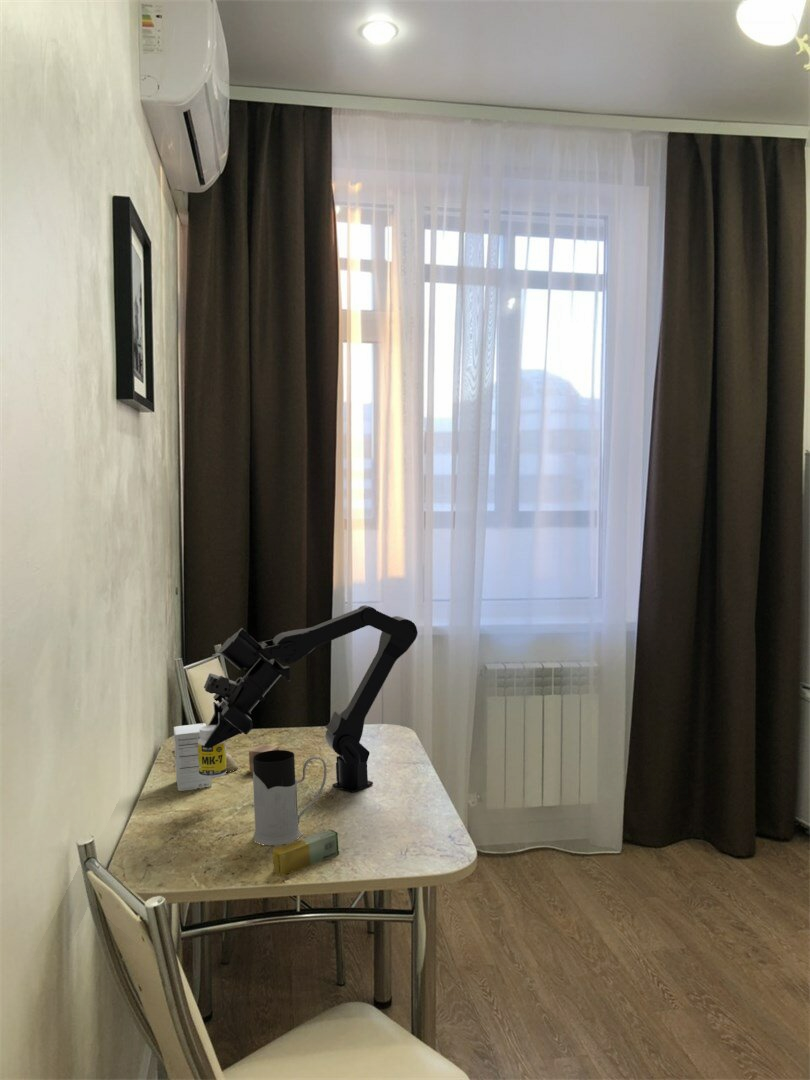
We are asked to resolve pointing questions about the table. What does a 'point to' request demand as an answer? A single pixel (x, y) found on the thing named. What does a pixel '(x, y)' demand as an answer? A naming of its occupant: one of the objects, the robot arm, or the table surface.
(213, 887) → the table surface
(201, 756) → the supplement bottle
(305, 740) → the table surface
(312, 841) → the medication box
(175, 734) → the supplement box
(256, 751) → the tan cube
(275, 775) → the glass holder
